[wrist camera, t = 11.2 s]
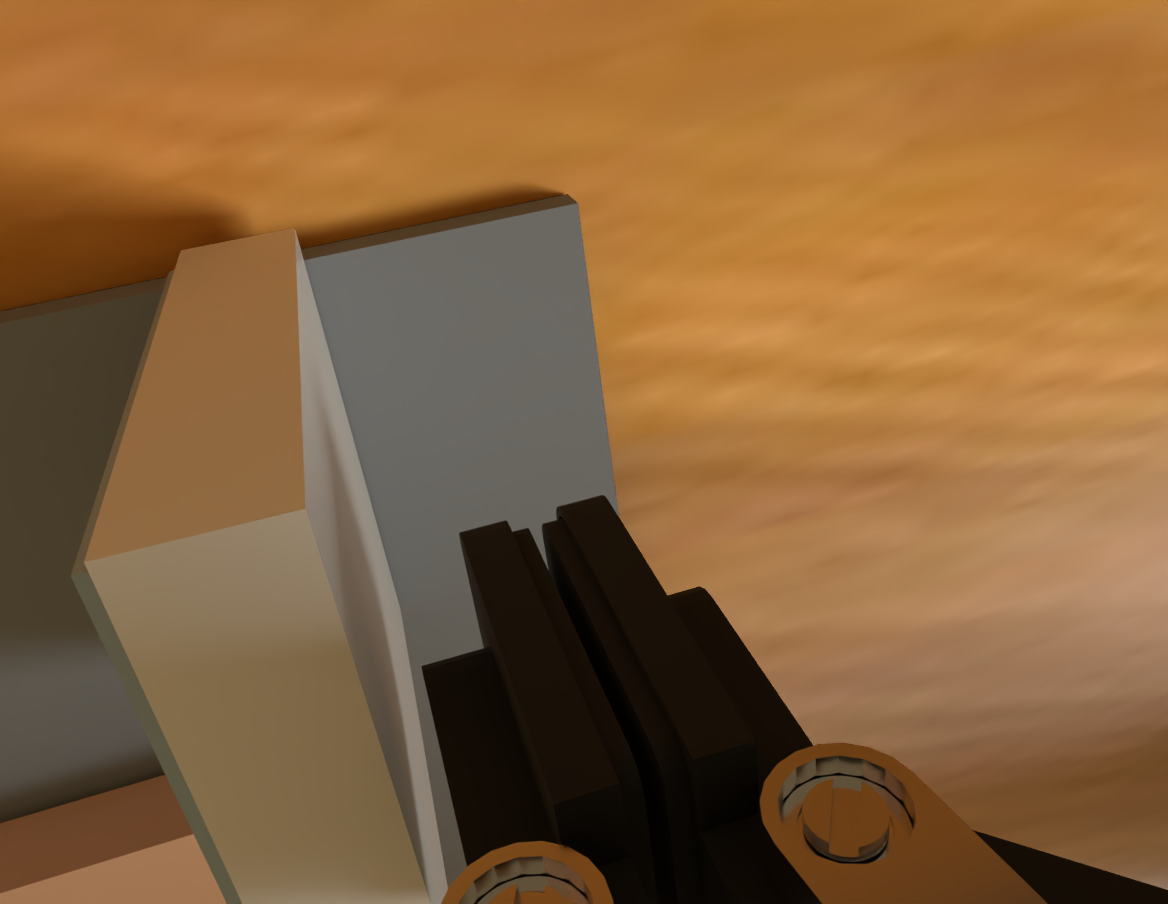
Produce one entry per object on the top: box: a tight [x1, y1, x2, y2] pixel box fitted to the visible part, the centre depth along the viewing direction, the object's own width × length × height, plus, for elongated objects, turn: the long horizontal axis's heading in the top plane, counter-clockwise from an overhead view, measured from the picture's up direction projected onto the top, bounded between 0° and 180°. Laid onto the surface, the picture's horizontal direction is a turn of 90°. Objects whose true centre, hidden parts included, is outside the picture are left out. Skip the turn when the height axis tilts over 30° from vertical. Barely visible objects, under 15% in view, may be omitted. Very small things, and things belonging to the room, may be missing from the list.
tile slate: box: [71, 228, 448, 904], centre depth 13 cm, size 2×7×8 cm, turn 7°
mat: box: [0, 194, 619, 888], centre depth 18 cm, size 18×15×1 cm
